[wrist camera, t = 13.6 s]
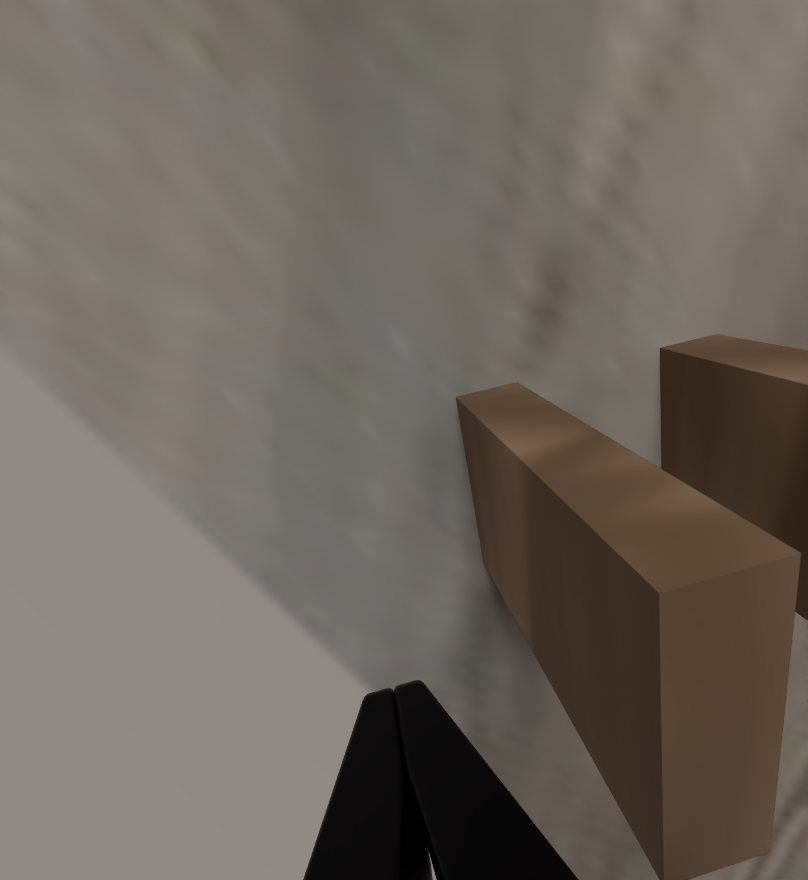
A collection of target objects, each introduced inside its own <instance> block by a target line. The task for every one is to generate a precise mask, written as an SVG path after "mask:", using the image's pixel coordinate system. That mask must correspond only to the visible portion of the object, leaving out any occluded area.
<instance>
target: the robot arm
mask: <svg viewBox="0 0 808 880" xmlns="http://www.w3.org/2000/svg"><path fill="white" fill-rule="evenodd" d="M428 850H429V851H428ZM429 854H430V857H431V861H432V864H433V868H434V872H435V875H436V879H437V880H578V879H577V877H576V876H575V875H574V873H573V872H572V871H571V870H570V868H569V867H568V866H567V865H566V863H565V862H564V861H563V859H562V858H561V857H560V856H559V854H558V853H557V852H556V851H555V849H554V848H553V847H552V846H551V844H550V843H549V842H548V840H547V839H546V838H545V837H544V835H543V834H542V833H541V832H540V830H539V829H538V828H537V826H536V825H535V824H534V823H533V821H532V820H531V819H530V818H529V816H528V815H527V814H526V812H525V811H524V810H523V809H522V807H521V806H520V805H519V804H518V802H517V801H516V800H515V798H514V797H513V796H512V795H511V793H510V792H509V791H508V790H507V788H506V787H505V786H504V784H503V783H502V782H501V781H500V779H499V778H498V777H497V776H496V774H495V773H494V772H493V770H492V769H491V768H490V767H489V765H488V764H487V763H486V762H485V760H484V759H483V758H482V756H481V755H480V754H479V753H478V751H477V750H476V749H475V748H474V746H473V745H472V744H471V743H470V741H469V740H468V739H467V737H466V736H465V735H464V734H463V732H462V731H461V730H460V729H459V727H458V726H457V725H456V723H455V722H454V721H453V720H452V718H451V717H450V716H449V715H448V713H447V712H446V711H445V709H444V708H443V707H442V706H441V704H440V703H439V702H438V701H437V699H436V698H435V697H434V695H433V694H432V693H431V692H430V690H429V689H428V688H427V687H426V685H425V684H424V683H423V682H422V681H420V680H415V681H412V682H408V683H405V684H401V685H398V686H396V687H395V689H394V691H393V690H392V689H390V688H387V689H383V690H379V691H376V692H372V693H369V694H367V695H366V696H365V697H364V699H363V701H362V704H361V707H360V710H359V713H358V716H357V720H356V722H355V725H354V728H353V731H352V734H351V737H350V740H349V743H348V746H347V749H346V752H345V756H344V758H343V761H342V764H341V768H340V771H339V774H338V777H337V780H336V783H335V786H334V789H333V792H332V795H331V798H330V801H329V804H328V807H327V810H326V813H325V816H324V819H323V822H322V825H321V828H320V831H319V834H318V837H317V840H316V843H315V846H314V849H313V852H312V855H311V858H310V861H309V864H308V868H307V870H306V873H305V876H304V879H303V880H433V879H432V870H431V863H430V857H429Z"/></svg>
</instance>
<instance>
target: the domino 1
mask: <svg viewBox="0 0 808 880" xmlns="http://www.w3.org/2000/svg"><path fill="white" fill-rule="evenodd" d="M456 400H457V406H458V412H459V418H460V424H461V430H462V436H463V442H464V448H465V454H466V460H467V466H468V472H469V478H470V484H471V490H472V496H473V502H474V508H475V514H476V520H477V526H478V532H479V538H480V544H481V550H482V556H483V562H484V565H485V567H486V568H487V570H488V572H489V574H490V576H491V577H492V579H493V581H494V583H495V585H496V586H497V588H498V590H499V592H500V594H501V595H502V597H503V599H504V601H505V602H506V604H507V606H508V608H509V610H510V611H511V613H512V615H513V617H514V619H515V620H516V622H517V624H518V626H519V628H520V629H521V631H522V633H523V635H524V637H525V638H526V640H527V642H528V644H529V646H530V647H531V649H532V651H533V653H534V655H535V656H536V658H537V660H538V662H539V664H540V665H541V667H542V669H543V671H544V673H545V674H546V676H547V678H548V680H549V682H550V683H551V685H552V687H553V689H554V691H555V692H556V694H557V696H558V698H559V700H560V701H561V703H562V705H563V707H564V709H565V710H566V712H567V714H568V716H569V718H570V719H571V721H572V723H573V725H574V727H575V728H576V730H577V732H578V734H579V736H580V737H581V739H582V741H583V743H584V745H585V746H586V748H587V750H588V752H589V754H590V755H591V757H592V759H593V761H594V763H595V764H596V766H597V768H598V770H599V772H600V773H601V775H602V777H603V779H604V781H605V782H606V784H607V786H608V788H609V790H610V791H611V793H612V795H613V797H614V799H615V800H616V802H617V804H618V806H619V808H620V809H621V811H622V813H623V815H624V816H625V818H626V820H627V822H628V824H629V825H630V827H631V829H632V831H633V833H634V834H635V836H636V838H637V840H638V842H639V843H640V845H641V847H642V849H643V851H644V852H645V854H646V856H647V858H648V860H649V861H650V863H651V865H652V867H653V869H654V870H655V872H656V874H657V876H658V878H659V879H660V880H689V879H692V878H694V877H697V876H700V875H703V874H706V873H709V872H712V871H715V870H718V869H721V868H724V867H727V866H730V865H733V864H736V863H739V862H742V861H745V860H748V859H751V858H754V857H756V856H759V855H762V854H765V853H768V852H770V848H771V838H772V828H773V819H774V809H775V800H776V790H777V780H778V771H779V761H780V751H781V742H782V732H783V723H784V713H785V703H786V694H787V684H788V674H789V665H790V655H791V645H792V636H793V626H794V617H795V607H796V597H797V588H798V578H799V568H800V559H801V553H800V552H799V551H797V550H795V549H794V548H792V547H790V546H789V545H787V544H785V543H784V542H782V541H780V540H779V539H777V538H775V537H774V536H772V535H770V534H769V533H767V532H765V531H764V530H762V529H760V528H759V527H757V526H755V525H754V524H752V523H750V522H749V521H747V520H745V519H744V518H742V517H740V516H739V515H737V514H735V513H734V512H732V511H730V510H729V509H727V508H725V507H724V506H722V505H720V504H719V503H717V502H715V501H714V500H712V499H710V498H709V497H707V496H705V495H704V494H702V493H700V492H699V491H697V490H695V489H694V488H692V487H690V486H689V485H687V484H685V483H684V482H682V481H680V480H679V479H677V478H675V477H674V476H672V475H670V474H669V473H667V472H665V471H664V470H662V469H660V468H659V467H657V466H655V465H654V464H652V463H650V462H649V461H647V460H645V459H644V458H642V457H640V456H639V455H637V454H635V453H634V452H632V451H630V450H629V449H627V448H625V447H624V446H622V445H620V444H619V443H617V442H615V441H614V440H612V439H610V438H609V437H607V436H605V435H604V434H602V433H600V432H599V431H597V430H595V429H594V428H592V427H590V426H589V425H587V424H585V423H584V422H582V421H580V420H579V419H577V418H575V417H574V416H572V415H570V414H569V413H567V412H565V411H564V410H562V409H560V408H559V407H557V406H555V405H554V404H552V403H550V402H549V401H547V400H545V399H544V398H542V397H540V396H539V395H537V394H535V393H534V392H532V391H530V390H529V389H527V388H525V387H524V386H522V385H520V384H519V383H513V384H509V385H504V386H500V387H496V388H492V389H488V390H484V391H479V392H475V393H471V394H467V395H463V396H459V397H456Z"/></svg>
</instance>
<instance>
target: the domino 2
mask: <svg viewBox="0 0 808 880" xmlns="http://www.w3.org/2000/svg"><path fill="white" fill-rule="evenodd" d="M660 371H661V444H662V470H664V471H665V472H667V473H669V474H670V475H672V476H674V477H675V478H677V479H679V480H680V481H682V482H684V483H685V484H687V485H689V486H690V487H692V488H694V489H695V490H697V491H699V492H700V493H702V494H704V495H705V496H707V497H709V498H710V499H712V500H714V501H715V502H717V503H719V504H720V505H722V506H724V507H725V508H727V509H729V510H730V511H732V512H734V513H735V514H737V515H739V516H740V517H742V518H744V519H745V520H747V521H749V522H750V523H752V524H754V525H755V526H757V527H759V528H760V529H762V530H764V531H765V532H767V533H769V534H770V535H772V536H774V537H775V538H777V539H779V540H780V541H782V542H784V543H785V544H787V545H789V546H790V547H792V548H794V549H795V550H797V551H799V552H800V553H801V559H800V568H799V578H798V588H797V597H796V607H795V612H797V613H798V614H799V615H801V616H802V617H803V618H805V619H806V620H808V351H807V350H801V349H796V348H790V347H784V346H779V345H773V344H768V343H762V342H757V341H751V340H745V339H740V338H734V337H729V336H723V335H718V334H716V335H712V336H708V337H704V338H700V339H696V340H691V341H687V342H683V343H679V344H675V345H671V346H666V347H662V348H660Z"/></svg>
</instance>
